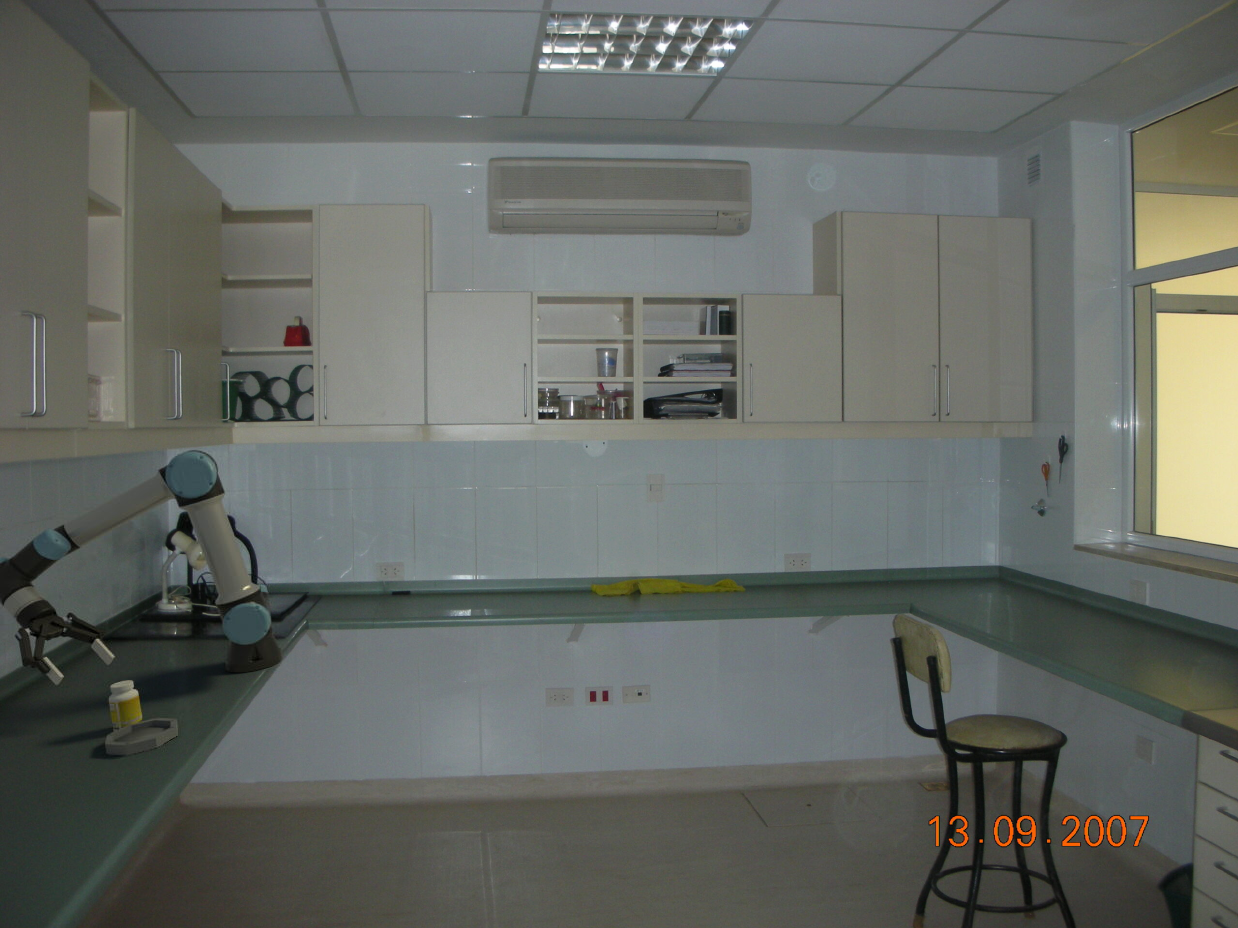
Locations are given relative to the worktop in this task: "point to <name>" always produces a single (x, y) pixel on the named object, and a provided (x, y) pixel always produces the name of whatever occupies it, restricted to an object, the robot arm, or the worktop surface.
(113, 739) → the octagonal tray
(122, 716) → the pill bottle
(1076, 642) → the worktop surface
